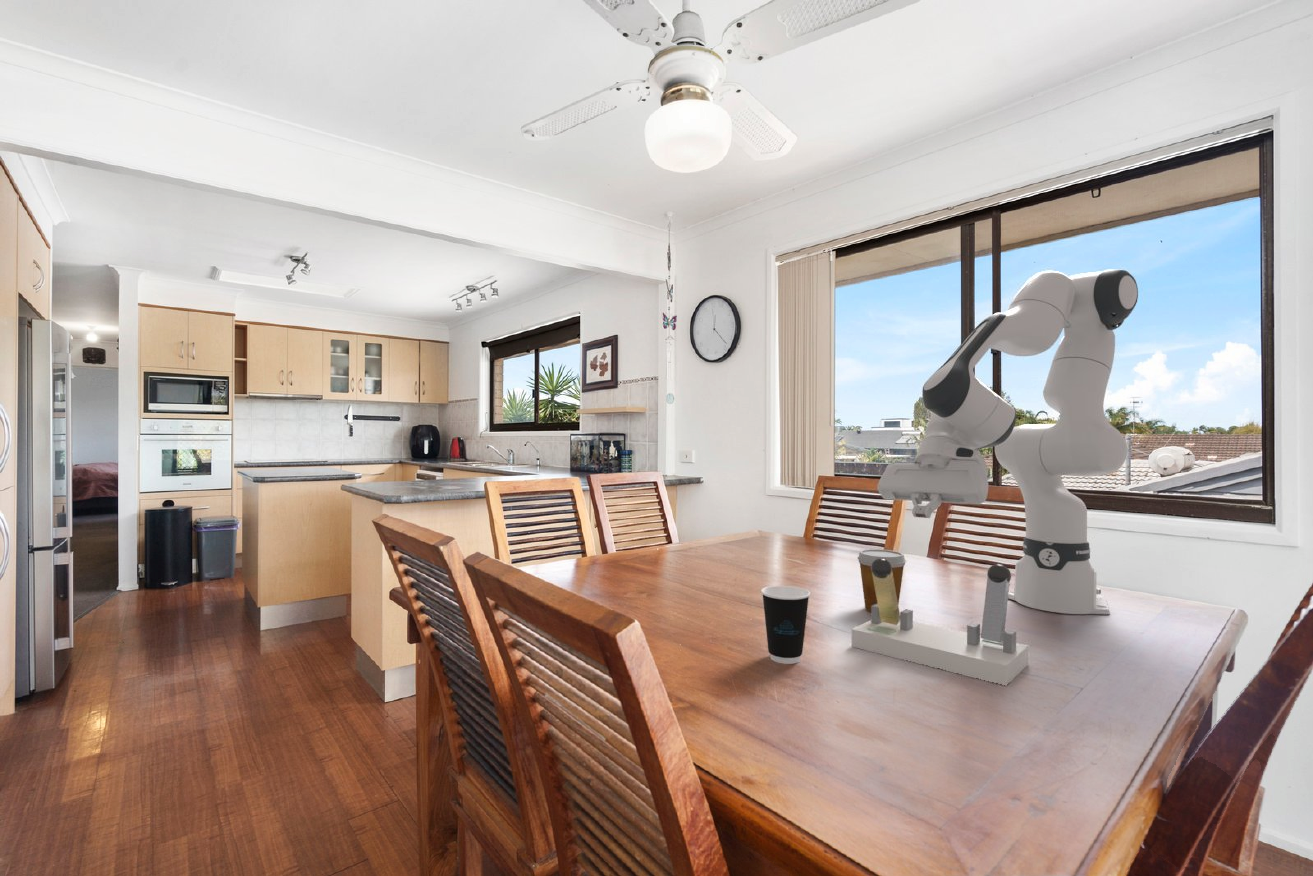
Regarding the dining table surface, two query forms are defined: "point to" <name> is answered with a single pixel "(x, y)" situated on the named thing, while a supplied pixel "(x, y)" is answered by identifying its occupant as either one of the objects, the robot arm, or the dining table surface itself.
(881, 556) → the disposable coffee cup
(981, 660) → the switch panel
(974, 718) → the dining table surface
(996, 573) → the steel lever
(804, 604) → the dixie cup
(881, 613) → the brass lever
